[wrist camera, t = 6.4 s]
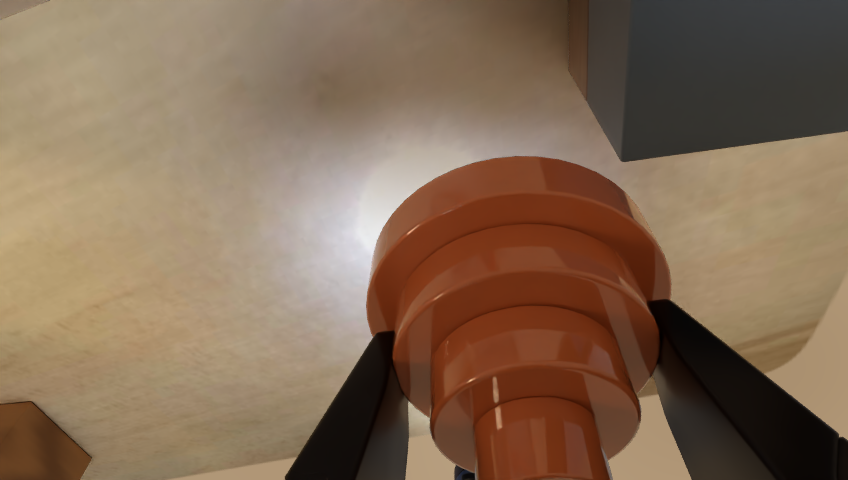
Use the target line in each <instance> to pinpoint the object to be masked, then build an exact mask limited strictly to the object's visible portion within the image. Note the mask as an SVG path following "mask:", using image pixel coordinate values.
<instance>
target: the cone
mask: <svg viewBox="0 0 848 480" xmlns="http://www.w3.org/2000/svg"><path fill="white" fill-rule="evenodd" d="M670 298H671V277H670V270H669V266H668V264H667V261H666V258H665V255H664V253H663V251H662V249H661V248H660V246H659V244H658V242H657V240H656V238H655V237H654V235H653V233H652V231H651V229H650V227H649V226H648V224H647V222H646V220H645V218H644V217H643V215H642V213H641V212H640V210H639V208H638V207H637V205H636V204H635V203H634V201H633V200H632V199H631V198H630V197H629V196H628V195H627V193H626V192H624V191H623V190H622V189H621V188H620V187H618V186H617V185H616V184H615V183H613V182H612V181H610V180H609V179H607V178H605V177H604V176H602V175H600V174H599V173H597V172H595V171H592V170H590V169H587V168H585V167H583V166H580V165H578V164H574V163H570V162H566V161H563V160H559V159H552V158H545V157H537V156H512V157H502V158H493V159H489V160H484V161H479V162H475V163H471V164H468V165H465V166H463V167H460V168H457V169H454V170H452V171H449V172H447V173H445V174H443V175H441V176H439V177H437V178H435V179H433V180H432V181H430V182H429V183H427V184H425V185H424V186H422V187H421V188H419V189H418V190H417V191H416V192H414V193H413V194H412V195H411V196H410V197H408V198H407V199H406V200H405V201H404V202H403V203H402V204H401V205H400V206H399V207H398V208H397V209H396V211H395V212H394V213H393V214H392V215H391V217H390V218H389V220H388V221H387V223H386V224H385V226H384V227H383V229H382V231H381V233H380V236H379V238H378V240H377V243H376V246H375V250H374V253H373V258H372V265H371V272H370V278H369V285H368V292H367V302H366V310H367V320H368V324H369V327H370V331H371V334H372V336H373V337H374V335H375V334H376V333H378V332H381V331H390V330H394V339H393V350H392V361H393V366H394V369H395V372H396V375H397V378H398V381H399V384H400V386H401V389H402V392H403V394H404V395H405V397H406V398H407V400H408V401H409V402H410V403H411V404H412V405H413V406H414V407H415V408H416V409H418V410H419V411H420V412H422V413H423V414H424V415H426V416H427V417H429V418H430V432H431V436H432V438H433V440H434V442H435V445H436V446H437V448H438V449H439V451H440V452H441V453H442V454H443V455H444V456H445V457H446V458H447V459H449V460H450V461H451V462H453V463H454V464H456V465H458V466H459V467H461V468H463V469H466V470H468V471H470V472H473V473H475V480H613V478H612V474H611V470H610V467H609V463H608V460H610V459H611V458H613V457H615V456H616V455H617V454H618V453H620V452H621V451H622V450H624V448H626V446H628V445H629V443H630V442H631V441H632V440H633V438H634V437H635V435H636V433H637V431H638V429H639V425H640V421H641V406H640V402H639V399H638V396H637V394H638V393H639V392H640V391H641V390H642V389H643V388H644V387H645V385H646V384H647V382H648V381H649V379H650V378H651V376H652V375H653V372H654V370H655V368H656V366H657V363H658V359H659V355H660V333H659V328H658V325H657V323H656V320H655V318H654V316H653V314H652V311H651V309H650V307H649V305H648V303H647V301H651V300H659V299H669V300H670Z"/></svg>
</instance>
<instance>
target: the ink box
mask: <svg viewBox="0 0 848 480" xmlns="http://www.w3.org/2000/svg"><path fill="white" fill-rule="evenodd" d="M47 1H49V0H0V20H1V19H3V18H6V17H9V16H11V15H14V14H16V13H19V12H21V11H24V10H26V9H29V8H31V7H34V6H37V5H39V4H42V3H44V2H47Z"/></svg>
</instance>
